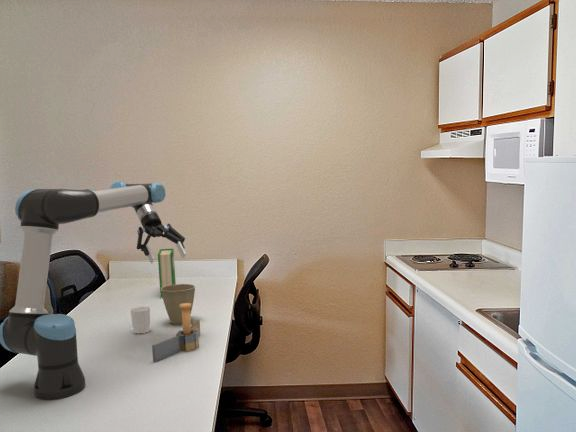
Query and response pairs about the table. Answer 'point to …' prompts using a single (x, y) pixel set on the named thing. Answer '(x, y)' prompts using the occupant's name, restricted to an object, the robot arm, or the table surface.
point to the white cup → (140, 319)
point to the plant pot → (177, 300)
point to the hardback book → (166, 268)
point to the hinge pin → (186, 318)
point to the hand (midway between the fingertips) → (169, 258)
